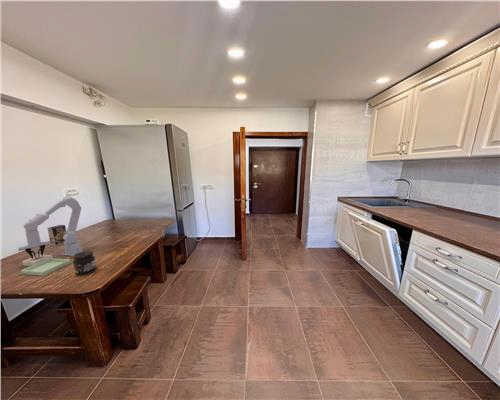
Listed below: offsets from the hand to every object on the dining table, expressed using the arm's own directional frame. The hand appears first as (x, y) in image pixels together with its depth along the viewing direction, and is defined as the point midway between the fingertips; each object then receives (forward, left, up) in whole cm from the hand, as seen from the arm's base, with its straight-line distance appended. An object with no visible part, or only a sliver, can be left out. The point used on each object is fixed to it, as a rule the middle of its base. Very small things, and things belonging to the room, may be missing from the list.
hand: (37, 257), depth 129 cm
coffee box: (+21, -29, -4) cm, 36 cm away
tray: (-16, +6, -4) cm, 18 cm away
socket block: (0, 0, -4) cm, 4 cm away
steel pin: (0, 0, -4) cm, 4 cm away
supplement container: (-45, +6, -4) cm, 46 cm away
